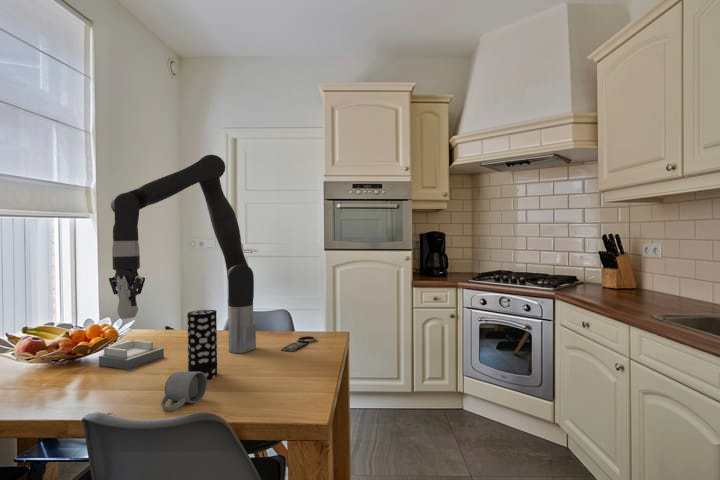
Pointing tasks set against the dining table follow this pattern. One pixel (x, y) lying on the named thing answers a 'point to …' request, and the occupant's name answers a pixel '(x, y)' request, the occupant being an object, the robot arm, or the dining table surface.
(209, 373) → the spotted tube
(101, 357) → the dock
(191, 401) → the ceramic mug
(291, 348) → the keychain
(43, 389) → the dining table surface
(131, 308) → the salt shaker
